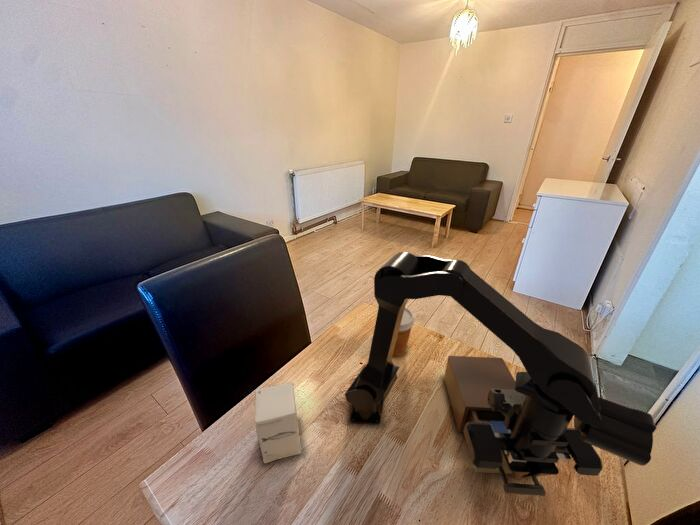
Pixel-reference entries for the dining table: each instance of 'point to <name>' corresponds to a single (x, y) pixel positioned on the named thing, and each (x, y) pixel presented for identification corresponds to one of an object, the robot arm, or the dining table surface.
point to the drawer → (508, 487)
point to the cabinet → (474, 383)
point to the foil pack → (497, 426)
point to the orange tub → (404, 332)
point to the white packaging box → (277, 422)
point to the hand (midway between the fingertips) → (515, 475)
